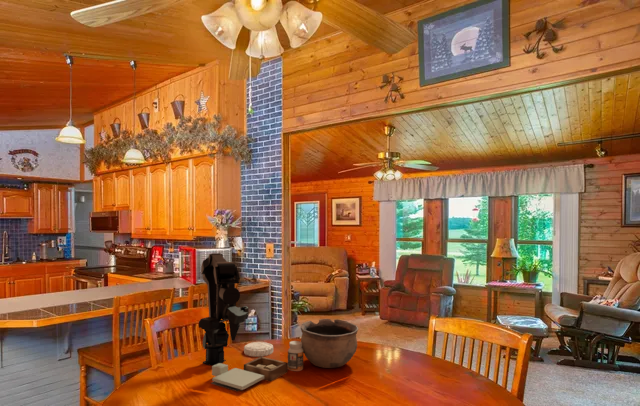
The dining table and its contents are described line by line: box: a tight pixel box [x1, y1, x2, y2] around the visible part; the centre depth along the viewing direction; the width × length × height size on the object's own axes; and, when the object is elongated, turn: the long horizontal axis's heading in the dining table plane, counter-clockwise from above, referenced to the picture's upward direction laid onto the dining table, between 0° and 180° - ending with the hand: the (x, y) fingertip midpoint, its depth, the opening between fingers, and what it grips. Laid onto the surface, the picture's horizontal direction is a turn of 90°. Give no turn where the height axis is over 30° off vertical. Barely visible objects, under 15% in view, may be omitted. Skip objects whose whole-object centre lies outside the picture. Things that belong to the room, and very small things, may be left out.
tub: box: [243, 356, 289, 383], centre depth 150 cm, size 12×10×4 cm
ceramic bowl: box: [299, 318, 359, 369], centre depth 161 cm, size 22×22×15 cm
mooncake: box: [243, 341, 274, 358], centre depth 173 cm, size 12×12×4 cm
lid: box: [211, 363, 264, 391], centre depth 141 cm, size 17×11×4 cm, turn 59°
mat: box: [210, 381, 241, 392], centre depth 141 cm, size 12×10×1 cm
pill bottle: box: [287, 340, 304, 372], centre depth 155 cm, size 6×6×10 cm
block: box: [265, 365, 277, 370], centre depth 150 cm, size 3×3×2 cm
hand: (223, 343), depth 147 cm, fingers open, 9 cm apart
